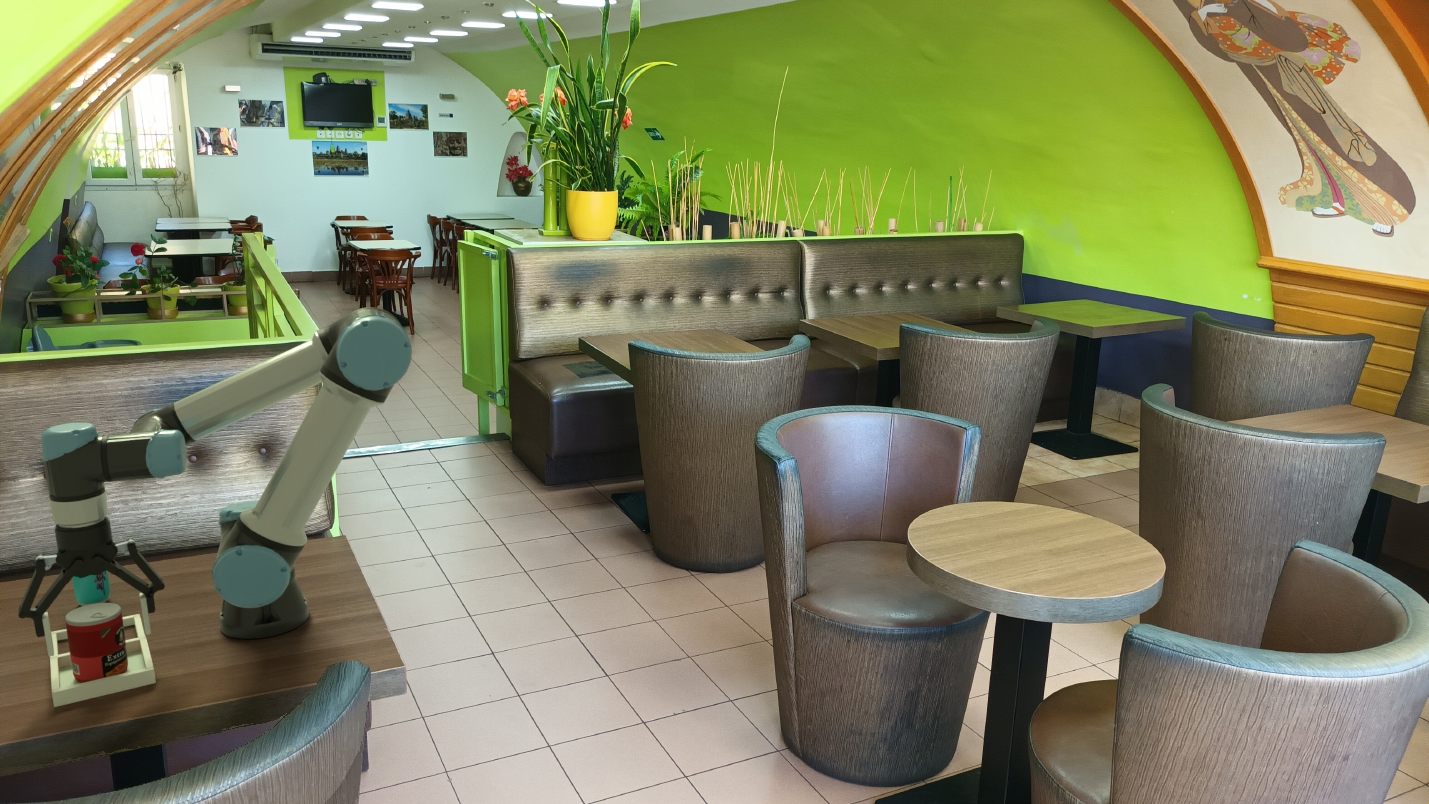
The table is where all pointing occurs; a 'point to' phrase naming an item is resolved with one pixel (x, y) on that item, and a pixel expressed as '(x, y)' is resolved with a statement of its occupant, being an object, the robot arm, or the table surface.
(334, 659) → the table surface
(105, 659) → the canned food
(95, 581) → the beverage can
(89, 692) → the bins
